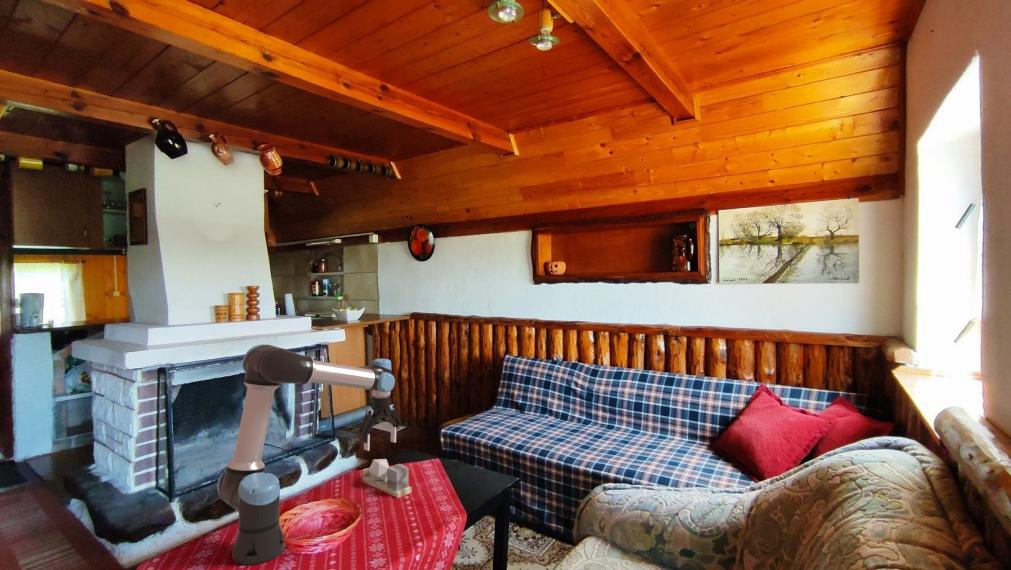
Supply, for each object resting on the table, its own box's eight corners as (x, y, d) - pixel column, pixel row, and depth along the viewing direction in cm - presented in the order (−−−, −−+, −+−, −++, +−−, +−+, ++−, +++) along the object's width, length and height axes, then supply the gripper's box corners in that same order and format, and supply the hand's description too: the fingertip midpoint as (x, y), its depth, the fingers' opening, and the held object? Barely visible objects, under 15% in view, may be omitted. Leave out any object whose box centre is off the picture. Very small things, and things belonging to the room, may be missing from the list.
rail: (398, 498, 196) (398, 473, 196) (362, 481, 212) (362, 458, 211) (411, 492, 202) (411, 468, 202) (375, 476, 217) (376, 453, 217)
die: (381, 487, 203) (394, 464, 206) (362, 475, 203) (376, 453, 207) (382, 486, 211) (395, 464, 214) (364, 475, 211) (378, 453, 214)
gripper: (361, 402, 196) (360, 455, 196) (410, 392, 215) (409, 440, 216) (350, 399, 201) (349, 451, 201) (399, 389, 220) (398, 436, 221)
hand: (380, 445), depth 209 cm, fingers open, 13 cm apart
